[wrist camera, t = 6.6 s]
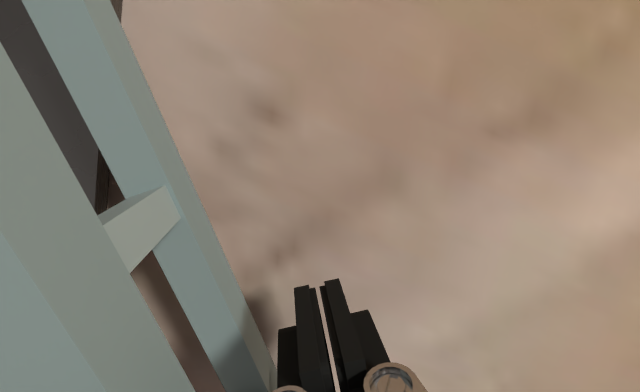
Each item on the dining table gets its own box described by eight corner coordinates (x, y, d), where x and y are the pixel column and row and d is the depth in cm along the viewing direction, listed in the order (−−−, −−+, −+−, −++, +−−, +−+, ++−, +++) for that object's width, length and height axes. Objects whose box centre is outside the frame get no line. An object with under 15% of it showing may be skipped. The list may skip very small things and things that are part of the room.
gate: (7, -105, 10) (-1041, -913, 2) (55, -121, 10) (-802, -980, 2) (251, 390, 15) (219, 674, 8) (281, 380, 15) (279, 652, 8)
